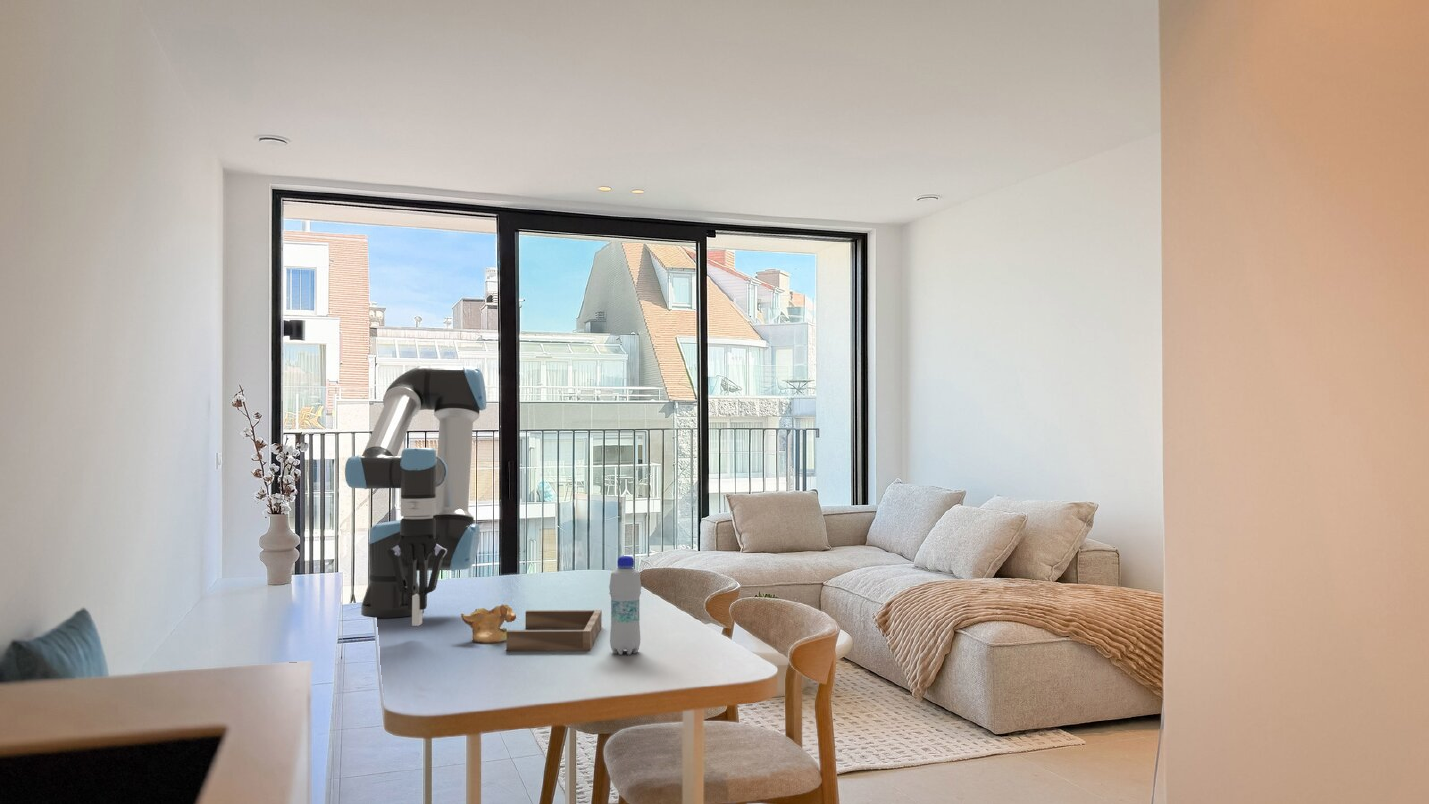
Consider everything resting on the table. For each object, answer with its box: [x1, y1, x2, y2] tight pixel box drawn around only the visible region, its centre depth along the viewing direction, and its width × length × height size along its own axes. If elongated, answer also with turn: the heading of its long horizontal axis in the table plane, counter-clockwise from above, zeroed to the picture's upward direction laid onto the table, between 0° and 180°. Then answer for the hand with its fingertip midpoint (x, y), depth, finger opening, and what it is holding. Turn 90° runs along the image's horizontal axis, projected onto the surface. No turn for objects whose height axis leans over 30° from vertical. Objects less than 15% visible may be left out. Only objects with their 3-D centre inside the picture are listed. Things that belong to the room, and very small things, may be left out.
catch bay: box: [505, 609, 603, 652], centre depth 217 cm, size 24×18×4 cm
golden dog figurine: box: [460, 604, 517, 645], centre depth 216 cm, size 12×10×8 cm
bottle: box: [608, 555, 642, 656], centre depth 204 cm, size 7×7×20 cm
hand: (417, 624), depth 216 cm, fingers closed
